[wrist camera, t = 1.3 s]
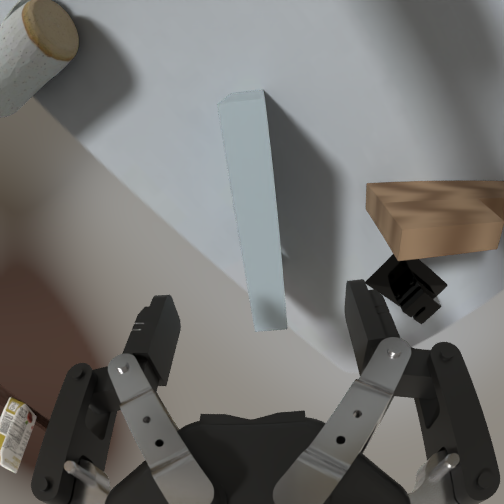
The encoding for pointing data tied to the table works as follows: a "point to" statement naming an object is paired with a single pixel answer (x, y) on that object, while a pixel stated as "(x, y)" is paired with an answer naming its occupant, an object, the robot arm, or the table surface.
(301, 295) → the table surface
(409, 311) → the black plastic bracket
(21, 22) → the ceramic mug
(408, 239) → the brown wooden board
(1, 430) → the juice carton
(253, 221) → the blue grey block
